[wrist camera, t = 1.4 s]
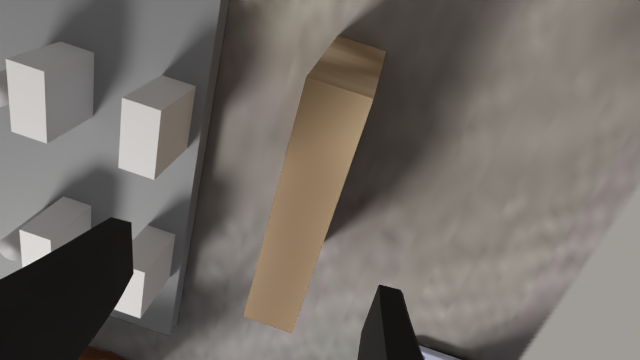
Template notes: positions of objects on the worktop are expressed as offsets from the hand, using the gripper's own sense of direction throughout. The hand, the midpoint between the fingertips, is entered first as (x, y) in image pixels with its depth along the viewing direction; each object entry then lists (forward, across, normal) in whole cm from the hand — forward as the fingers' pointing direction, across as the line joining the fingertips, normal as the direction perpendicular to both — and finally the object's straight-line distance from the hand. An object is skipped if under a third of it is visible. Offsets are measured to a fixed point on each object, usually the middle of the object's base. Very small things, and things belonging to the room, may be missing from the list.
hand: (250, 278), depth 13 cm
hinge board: (+9, +11, +3) cm, 15 cm away
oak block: (+9, -1, 0) cm, 9 cm away
